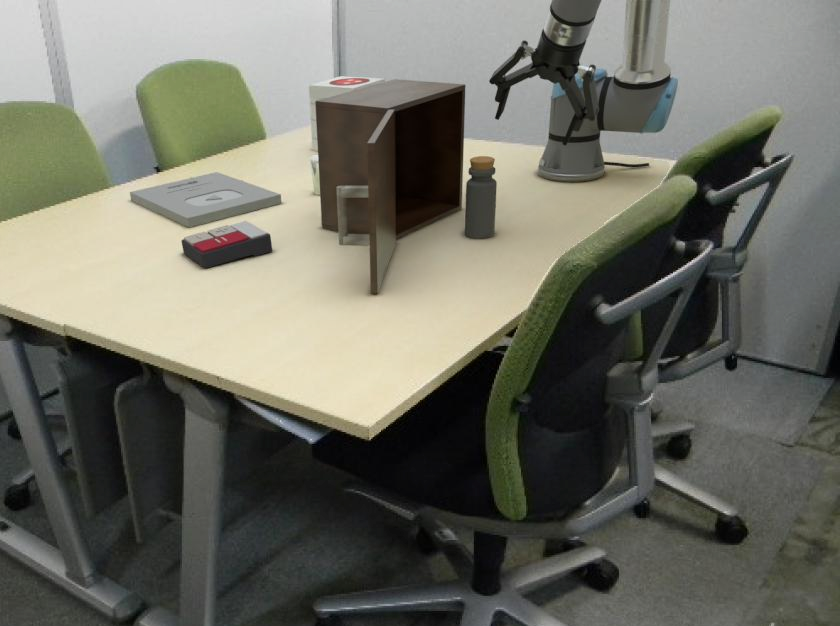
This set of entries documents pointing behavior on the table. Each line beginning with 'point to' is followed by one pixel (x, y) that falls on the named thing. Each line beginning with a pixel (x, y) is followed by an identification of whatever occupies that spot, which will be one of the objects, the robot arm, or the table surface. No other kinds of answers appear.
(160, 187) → the award plaque
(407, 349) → the table surface
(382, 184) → the cupboard door
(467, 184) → the bottle
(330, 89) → the pizza boxes
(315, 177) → the milkshake
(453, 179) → the cupboard
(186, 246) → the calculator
